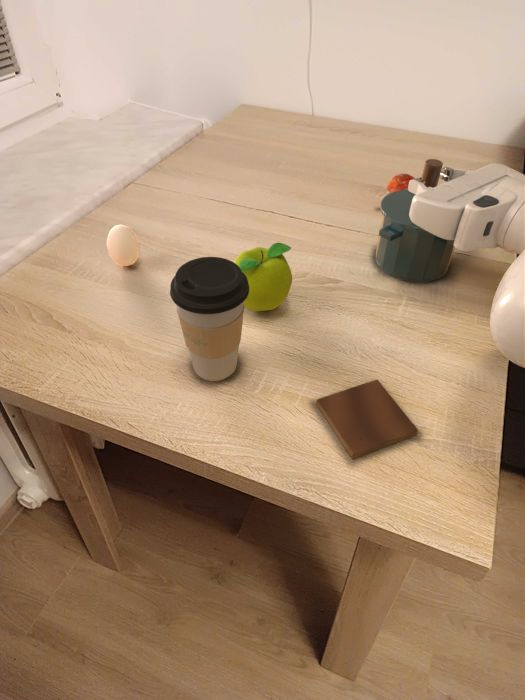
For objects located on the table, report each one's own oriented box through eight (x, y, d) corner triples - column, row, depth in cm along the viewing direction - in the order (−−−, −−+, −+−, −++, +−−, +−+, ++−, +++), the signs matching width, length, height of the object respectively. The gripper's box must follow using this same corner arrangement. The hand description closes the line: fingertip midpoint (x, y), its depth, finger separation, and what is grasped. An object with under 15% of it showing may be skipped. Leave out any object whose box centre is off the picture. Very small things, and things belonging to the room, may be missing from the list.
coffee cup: (168, 380, 67) (153, 289, 56) (199, 335, 73) (190, 246, 63) (234, 399, 64) (230, 308, 54) (259, 351, 71) (260, 262, 60)
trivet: (376, 384, 66) (377, 379, 66) (416, 435, 60) (418, 430, 60) (315, 404, 64) (316, 399, 63) (351, 459, 58) (353, 454, 57)
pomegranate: (390, 228, 100) (437, 200, 96) (372, 199, 96) (420, 169, 92) (385, 214, 106) (429, 187, 102) (368, 186, 102) (413, 157, 98)
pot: (472, 260, 88) (489, 211, 81) (404, 297, 80) (417, 246, 73) (417, 231, 95) (429, 183, 88) (349, 262, 87) (357, 212, 81)
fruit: (302, 310, 77) (306, 255, 71) (250, 331, 74) (250, 275, 67) (270, 280, 83) (271, 226, 76) (220, 298, 79) (217, 243, 72)
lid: (480, 217, 81) (498, 165, 75) (430, 245, 75) (445, 191, 69) (413, 188, 88) (424, 138, 82) (362, 211, 82) (371, 159, 76)
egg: (105, 265, 86) (95, 227, 81) (128, 252, 89) (120, 214, 84) (126, 276, 83) (117, 238, 78) (149, 262, 86) (142, 224, 81)
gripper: (555, 172, 72) (474, 141, 80) (468, 213, 63) (386, 174, 71) (538, 212, 76) (462, 179, 84) (454, 255, 67) (379, 214, 75)
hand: (427, 177), depth 78 cm, fingers open, 6 cm apart
